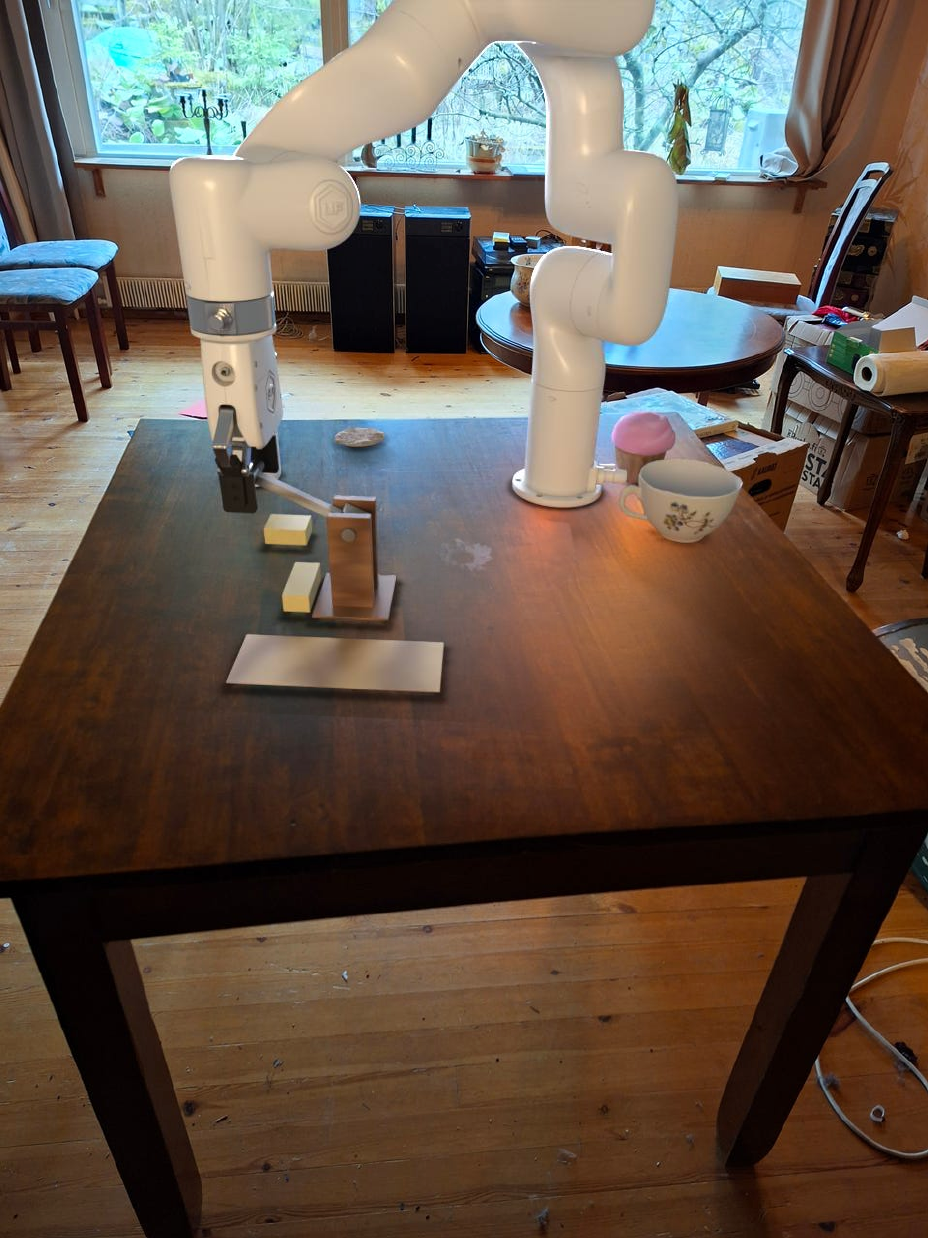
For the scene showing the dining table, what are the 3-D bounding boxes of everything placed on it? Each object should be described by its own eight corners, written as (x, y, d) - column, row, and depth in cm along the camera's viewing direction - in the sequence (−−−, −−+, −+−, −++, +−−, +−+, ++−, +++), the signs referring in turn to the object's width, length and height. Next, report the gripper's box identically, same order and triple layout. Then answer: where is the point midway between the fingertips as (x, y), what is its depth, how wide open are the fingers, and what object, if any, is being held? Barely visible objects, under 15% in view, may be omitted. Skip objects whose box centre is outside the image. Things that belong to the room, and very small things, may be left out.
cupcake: (679, 485, 120) (691, 418, 114) (629, 495, 117) (640, 427, 111) (642, 462, 127) (652, 398, 121) (594, 471, 123) (602, 405, 118)
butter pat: (313, 536, 104) (311, 515, 102) (307, 552, 100) (305, 530, 99) (273, 535, 104) (270, 513, 102) (265, 550, 100) (263, 528, 99)
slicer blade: (234, 492, 81) (242, 472, 80) (247, 471, 86) (254, 452, 84) (356, 548, 84) (366, 530, 83) (363, 526, 89) (372, 508, 87)
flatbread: (364, 427, 135) (364, 421, 134) (394, 440, 130) (394, 434, 130) (323, 439, 130) (323, 433, 129) (354, 454, 126) (353, 447, 125)
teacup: (709, 510, 113) (721, 455, 109) (744, 555, 103) (759, 496, 99) (601, 512, 112) (609, 456, 107) (626, 558, 102) (636, 498, 97)
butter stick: (321, 585, 94) (320, 562, 92) (310, 619, 88) (308, 596, 87) (297, 584, 94) (295, 561, 92) (284, 618, 88) (281, 594, 87)
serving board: (443, 650, 84) (444, 642, 84) (439, 700, 78) (439, 691, 77) (247, 642, 85) (246, 634, 84) (226, 691, 78) (225, 682, 77)
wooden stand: (312, 625, 87) (304, 525, 81) (326, 581, 95) (320, 486, 88) (388, 628, 87) (386, 528, 81) (396, 584, 95) (395, 489, 88)
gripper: (250, 342, 67) (270, 532, 77) (293, 294, 82) (306, 458, 91) (158, 338, 67) (189, 528, 77) (217, 290, 82) (238, 455, 91)
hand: (252, 490), depth 84 cm, fingers open, 9 cm apart
